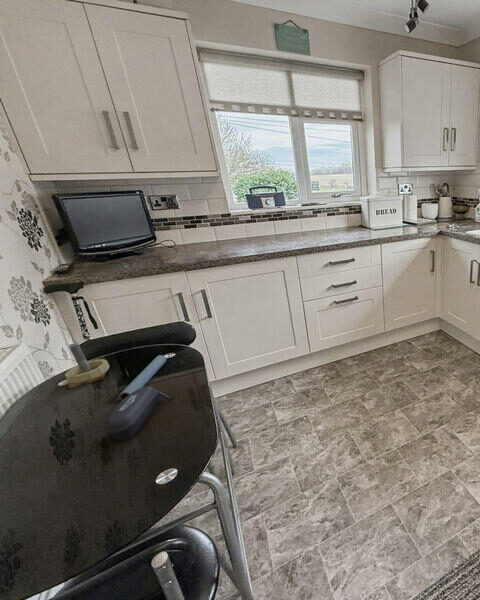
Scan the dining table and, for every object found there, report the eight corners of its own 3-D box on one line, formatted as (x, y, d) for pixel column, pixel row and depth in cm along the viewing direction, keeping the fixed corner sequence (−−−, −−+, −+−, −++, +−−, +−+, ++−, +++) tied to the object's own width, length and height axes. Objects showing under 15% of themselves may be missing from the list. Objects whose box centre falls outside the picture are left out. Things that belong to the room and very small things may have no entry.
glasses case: (131, 402, 96) (132, 380, 94) (171, 406, 100) (174, 384, 98) (91, 448, 80) (92, 421, 78) (142, 450, 83) (143, 425, 81)
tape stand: (69, 389, 108) (50, 354, 103) (76, 377, 115) (59, 343, 110) (104, 379, 112) (87, 345, 107) (109, 368, 119) (93, 335, 114)
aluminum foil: (133, 400, 99) (129, 391, 98) (109, 405, 98) (104, 395, 97) (168, 362, 120) (165, 354, 119) (148, 365, 119) (144, 357, 118)
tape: (64, 386, 107) (60, 380, 106) (73, 372, 116) (70, 366, 115) (106, 374, 112) (103, 368, 111) (111, 361, 121) (109, 356, 120)
